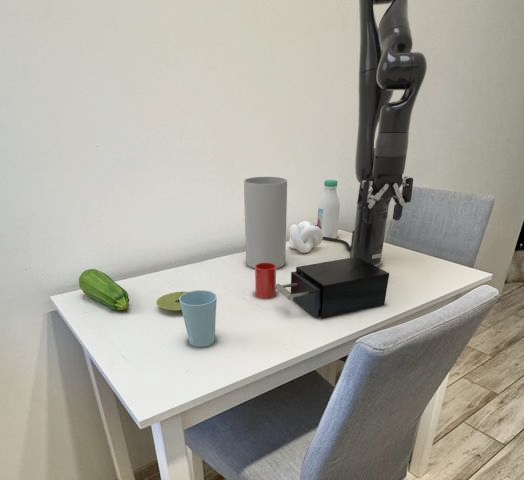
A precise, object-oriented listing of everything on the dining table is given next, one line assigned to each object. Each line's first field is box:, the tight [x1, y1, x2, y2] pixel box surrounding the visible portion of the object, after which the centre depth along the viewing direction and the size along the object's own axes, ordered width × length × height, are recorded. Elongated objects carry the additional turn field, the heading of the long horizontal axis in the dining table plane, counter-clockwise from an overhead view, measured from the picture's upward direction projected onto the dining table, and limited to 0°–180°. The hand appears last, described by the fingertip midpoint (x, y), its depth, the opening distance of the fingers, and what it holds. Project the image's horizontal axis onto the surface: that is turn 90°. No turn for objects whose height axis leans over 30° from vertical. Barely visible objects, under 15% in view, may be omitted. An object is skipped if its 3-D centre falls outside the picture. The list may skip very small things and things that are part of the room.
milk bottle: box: [316, 179, 341, 239], centre depth 154 cm, size 8×8×20 cm
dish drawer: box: [275, 270, 322, 317], centre depth 106 cm, size 23×12×7 cm, turn 114°
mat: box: [156, 291, 188, 311], centre depth 107 cm, size 11×11×2 cm
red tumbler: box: [254, 263, 277, 300], centre depth 112 cm, size 5×5×8 cm
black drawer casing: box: [295, 257, 390, 320], centre depth 107 cm, size 19×14×9 cm
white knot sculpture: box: [288, 220, 323, 254], centre depth 143 cm, size 11×12×9 cm
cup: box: [179, 289, 218, 348], centre depth 90 cm, size 8×8×10 cm
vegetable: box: [78, 268, 130, 311], centre depth 108 cm, size 7×7×20 cm
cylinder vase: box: [243, 176, 288, 270], centre depth 128 cm, size 12×12×25 cm
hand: (381, 221), depth 110 cm, fingers open, 8 cm apart
